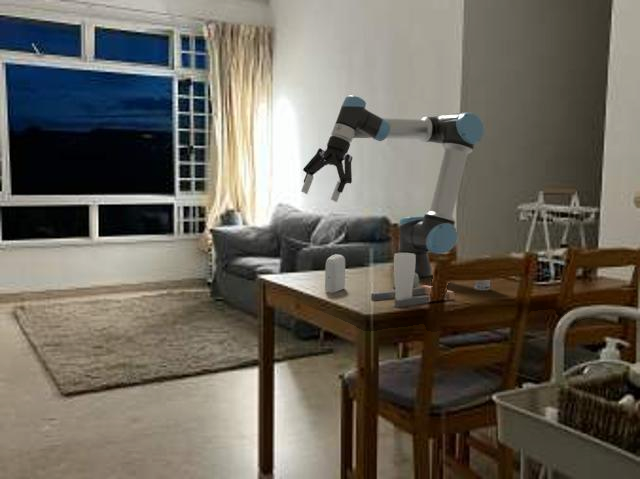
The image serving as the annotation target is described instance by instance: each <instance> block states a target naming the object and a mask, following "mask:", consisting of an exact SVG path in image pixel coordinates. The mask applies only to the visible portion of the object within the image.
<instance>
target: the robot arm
mask: <svg viewBox="0 0 640 479" xmlns="http://www.w3.org/2000/svg"><path fill="white" fill-rule="evenodd" d="M366 105H367V104H366V101H365V100H364V99H362V97H360V96H357V95H354V94H353V95H351V94H350V95H347V96H346V97H345V98H344V100H343V103H342V104H341V107H340V110H339V113H338V116H337V118H336V121H335V123H334V125H333V129H332V131H331V136H330V137H329V139H328V141H327V144H326V147H327V148H326V149H325V150H324V149H322V147H321V148H320V147H319V148H318V149H317V152H316V154H314V156H313V157H311V159H310V160H309V162H308V163H306V165H305V166H304V168H302V170H303V172H304V173H306V174H305V177H304V179H303V184H302V185H303V186H302V187H301V191H300V192H302V193H303V194H305V195H308V193H309V191H310V188H311V186H312V183H313V180H314V175H315V174H317V172H318V171H320V170H321V169H322V168H324V167H325V166H328V165H329V166H334V167H335V168H336V171H337V174H338V179H339V180H338V181H337V182H336V184H335V188H334V190H333V193H332V195H331V198H330V200H332V201H333V202H335V203H337V202H338V200H339V197H340V195H341V194H342V193H343V191H344V189H345V186H346V184H352V182H353V180H352V177H353V176H352V175H353V174H352V162H353V161H352V160H353V156H352V155H351V154H349V153H348V152H349V150H350V146H351V143H352V142H353V140H354V139H373V140H375V141H377V142H383V141H384V140H385V139H400V140H405V139H406V140H411V139H412V140H420V142H425V143H427V142H428V143H434V144H435V143H436V144H441V146H442V148H443V149H444V154H443V155H442V156H443V157H442V160H441V166H440V168H439V169H440V170H439V174H438V176H437V181H436V184H435V185H436V186H435V188H434V193H433V197H432V201H431V204H430V210H429V211H428V212H426V213H424V216H408V217H407V216H405V217H402V218H401V219H399V225H398V229H399V231H398V253H412V254H415V257H416V262H415V273H416V274H417V275H418V277H419V278H423V277H424V278H426V277H431V276H432V275H433V274H432V273H433V270H432V267H431V262H430V259H429V253H433V254H446V253H448V252H449V251H452V250H453V248H454V246H456V243H457V241H458V231H457V229H456V226H455V223H456V221H455V219H454V217H453V214H454V209H455V206H456V203H457V198H458V194H459V191H460V186H461V182H462V179H463V178H462V177H463V174H464V169H465V167H466V166H465V165H466V162H467V158H468V155H469V154H471V153H472V152H473V150H474V147H475V144H477V143H479V142H480V141H481V140H482V138H483V136H484V132H485V131H484V130H485V128H484V123H483V122H482V119H481V118H480V116H478V115H477V114H475V113H474V112H466V111H465V112H464V111H463V112H458V113H447V114H441V115H436V116H424V117H422V118H392V117H391V118H387V117H386V118H385V117H380V116H379V115H376V114H375V113H372V112H371V111H369V110H368V109H366ZM343 161H344V162H343ZM343 164H344V165H343Z"/></svg>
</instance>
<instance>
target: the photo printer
mask: <svg viewBox="0 0 640 479" xmlns="http://www.w3.org/2000/svg"><path fill="white" fill-rule="evenodd" d="M324 270H325V273H324V274H325V275H324V276H325V277H324V278H325V279H324V280H325V281H324V283H325V284H324V290H325V292H326V293H328V292H329V294H330V293H331V294H334V293H337V292H338V291H339V292H340V291H341V290H343V289H345V286H346V259H345V256H343V255H342V254H332V255H331V256H329V257H328V258H327V259H326V262H325V269H324Z"/></svg>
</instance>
